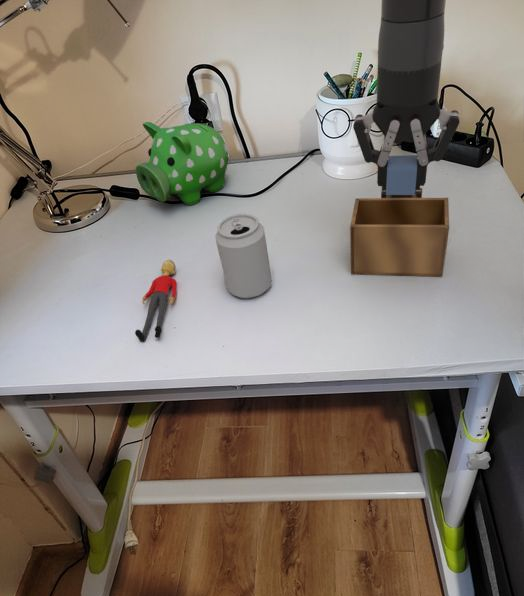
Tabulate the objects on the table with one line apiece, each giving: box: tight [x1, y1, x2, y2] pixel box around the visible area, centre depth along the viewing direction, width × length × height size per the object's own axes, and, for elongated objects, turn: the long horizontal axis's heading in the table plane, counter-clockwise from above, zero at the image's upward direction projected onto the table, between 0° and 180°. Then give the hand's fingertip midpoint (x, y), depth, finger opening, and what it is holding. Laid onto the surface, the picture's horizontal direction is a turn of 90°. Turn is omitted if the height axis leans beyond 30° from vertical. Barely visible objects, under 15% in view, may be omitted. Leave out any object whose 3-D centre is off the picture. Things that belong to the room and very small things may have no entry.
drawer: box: [349, 187, 450, 278], centre depth 81 cm, size 14×9×13 cm
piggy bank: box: [135, 121, 229, 206], centre depth 103 cm, size 14×18×15 cm
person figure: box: [134, 259, 178, 343], centre depth 82 cm, size 5×4×18 cm
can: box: [214, 213, 273, 299], centre depth 79 cm, size 8×8×12 cm
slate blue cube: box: [386, 154, 418, 195], centre depth 72 cm, size 4×4×4 cm
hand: (401, 186), depth 73 cm, fingers closed on slate blue cube, 4 cm apart
